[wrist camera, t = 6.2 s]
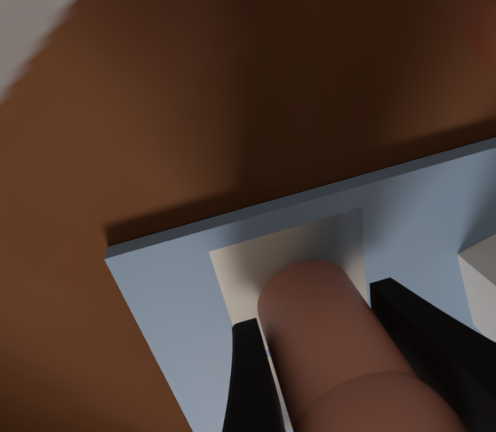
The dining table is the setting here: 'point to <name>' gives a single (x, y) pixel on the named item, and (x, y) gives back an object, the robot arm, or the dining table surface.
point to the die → (481, 284)
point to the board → (300, 250)
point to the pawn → (342, 359)
